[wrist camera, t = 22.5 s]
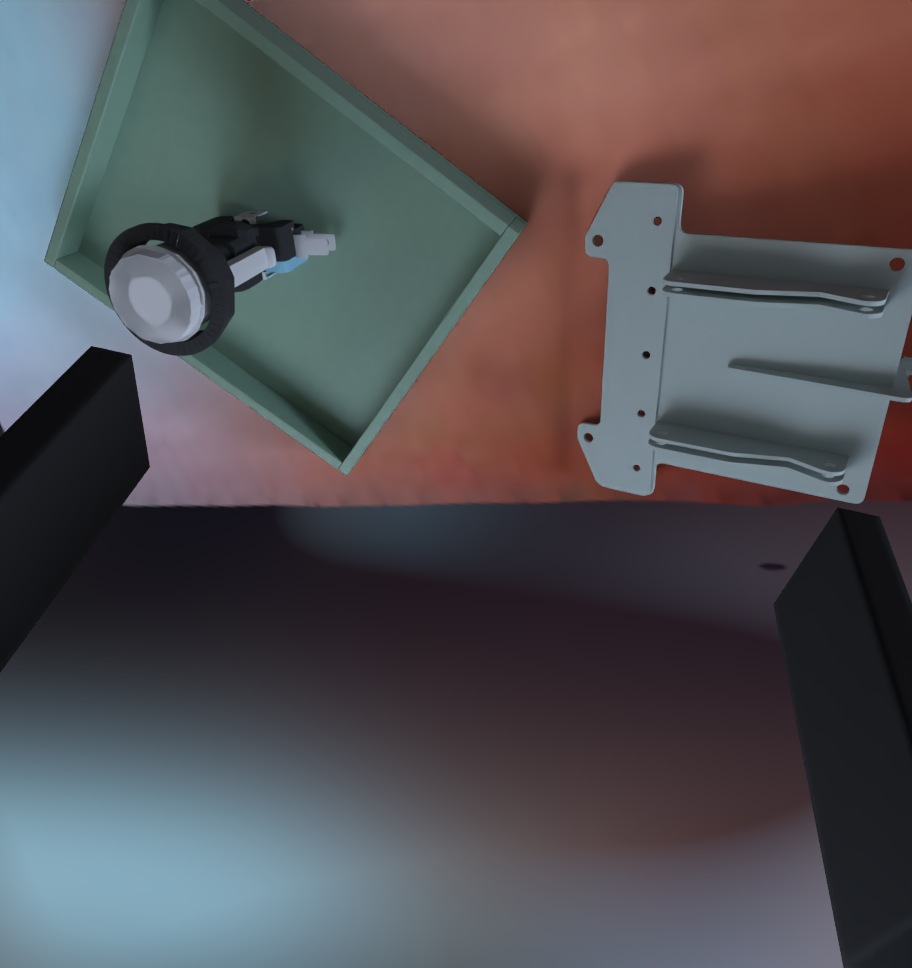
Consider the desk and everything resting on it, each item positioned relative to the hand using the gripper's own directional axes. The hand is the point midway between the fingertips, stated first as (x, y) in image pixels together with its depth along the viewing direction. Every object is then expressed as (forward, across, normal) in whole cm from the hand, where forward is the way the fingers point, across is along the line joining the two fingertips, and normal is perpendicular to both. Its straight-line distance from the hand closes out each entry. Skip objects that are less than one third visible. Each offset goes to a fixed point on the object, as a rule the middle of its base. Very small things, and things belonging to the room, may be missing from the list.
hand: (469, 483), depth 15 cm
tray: (+24, -12, -8) cm, 29 cm away
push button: (+24, -12, -8) cm, 28 cm away
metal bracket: (+22, +11, -8) cm, 26 cm away
